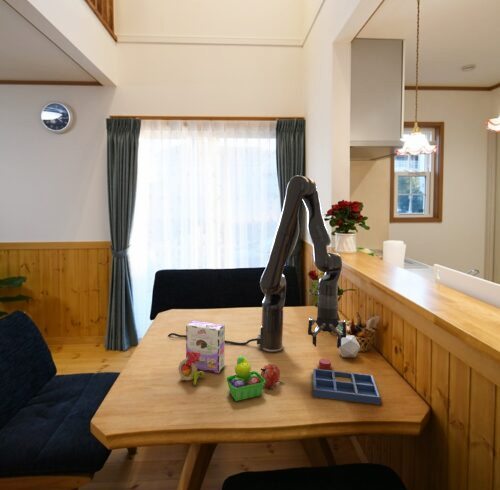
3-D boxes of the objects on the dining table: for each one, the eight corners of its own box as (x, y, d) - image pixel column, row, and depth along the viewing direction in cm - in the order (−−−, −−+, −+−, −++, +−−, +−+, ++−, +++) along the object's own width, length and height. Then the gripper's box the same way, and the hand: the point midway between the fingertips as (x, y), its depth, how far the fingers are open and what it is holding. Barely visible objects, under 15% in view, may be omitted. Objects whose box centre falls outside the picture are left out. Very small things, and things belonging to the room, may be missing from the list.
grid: (313, 396, 114) (313, 389, 114) (313, 374, 128) (313, 368, 128) (380, 404, 110) (380, 397, 110) (372, 381, 124) (372, 374, 124)
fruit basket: (233, 404, 108) (234, 369, 108) (224, 389, 116) (224, 357, 116) (265, 396, 113) (266, 363, 112) (254, 383, 121) (255, 351, 120)
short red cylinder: (319, 370, 131) (319, 363, 131) (318, 364, 135) (319, 357, 135) (330, 371, 130) (331, 364, 130) (330, 366, 135) (330, 359, 134)
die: (355, 364, 138) (366, 342, 140) (335, 351, 139) (347, 329, 142) (349, 362, 146) (360, 341, 148) (330, 350, 147) (341, 329, 150)
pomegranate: (273, 383, 125) (252, 369, 123) (286, 368, 124) (265, 353, 123) (277, 398, 118) (254, 382, 116) (291, 382, 117) (268, 366, 115)
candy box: (224, 366, 132) (225, 324, 131) (218, 374, 126) (219, 330, 126) (192, 360, 137) (193, 319, 136) (185, 367, 131) (185, 324, 130)
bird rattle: (179, 390, 119) (202, 385, 116) (168, 359, 119) (190, 353, 117) (188, 381, 125) (209, 375, 122) (177, 352, 125) (198, 345, 123)
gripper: (345, 303, 134) (344, 343, 135) (308, 300, 136) (307, 340, 137) (348, 309, 127) (346, 352, 128) (308, 306, 129) (307, 349, 130)
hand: (326, 346), depth 132 cm, fingers open, 8 cm apart
